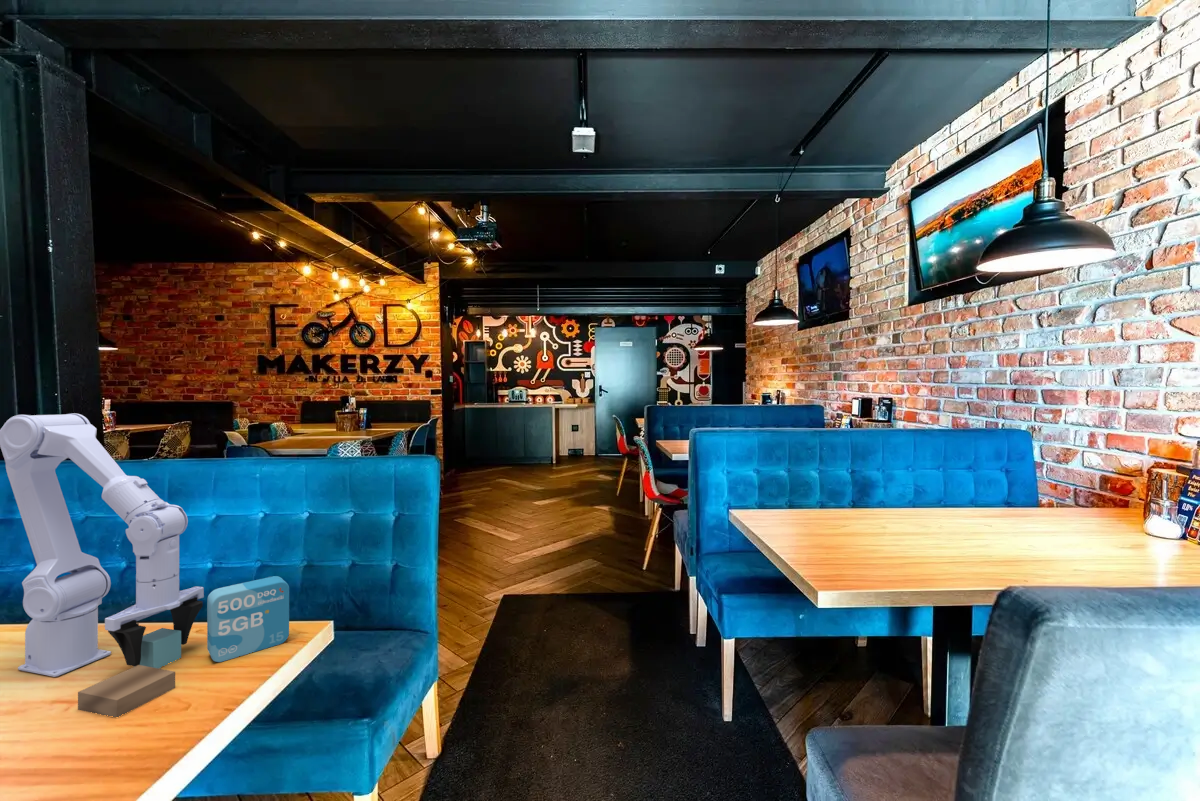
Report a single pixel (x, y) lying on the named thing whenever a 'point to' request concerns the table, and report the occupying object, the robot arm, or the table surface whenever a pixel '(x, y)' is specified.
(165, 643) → the teal block
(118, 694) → the walnut block
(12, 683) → the table surface
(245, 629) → the data package
